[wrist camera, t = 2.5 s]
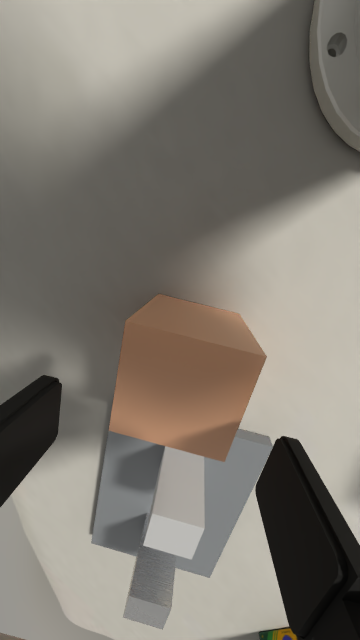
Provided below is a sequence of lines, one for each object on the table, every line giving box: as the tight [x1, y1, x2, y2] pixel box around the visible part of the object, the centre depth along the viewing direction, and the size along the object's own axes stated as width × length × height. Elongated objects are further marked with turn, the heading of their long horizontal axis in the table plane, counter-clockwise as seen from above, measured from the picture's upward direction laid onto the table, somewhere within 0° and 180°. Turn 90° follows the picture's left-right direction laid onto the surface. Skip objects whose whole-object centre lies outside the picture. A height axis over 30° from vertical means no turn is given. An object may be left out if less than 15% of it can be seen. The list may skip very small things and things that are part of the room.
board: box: [91, 404, 273, 578], centre depth 18 cm, size 20×14×6 cm
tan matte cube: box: [109, 294, 267, 462], centre depth 13 cm, size 6×6×7 cm
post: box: [123, 513, 176, 629], centre depth 19 cm, size 3×3×6 cm
